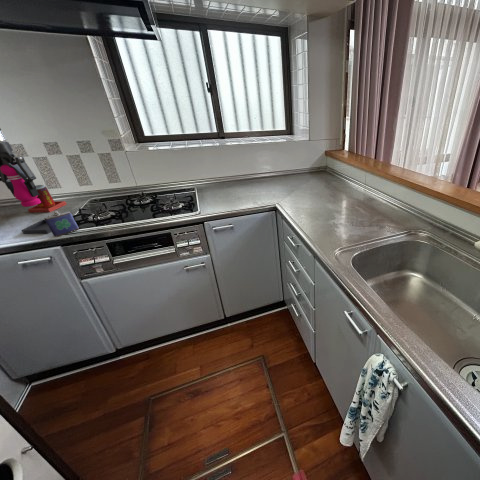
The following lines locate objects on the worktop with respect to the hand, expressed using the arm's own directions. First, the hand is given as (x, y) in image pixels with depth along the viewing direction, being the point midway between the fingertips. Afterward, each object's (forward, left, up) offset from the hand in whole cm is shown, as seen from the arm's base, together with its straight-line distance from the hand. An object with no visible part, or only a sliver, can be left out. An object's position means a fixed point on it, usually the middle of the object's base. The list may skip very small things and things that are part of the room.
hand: (26, 195), depth 119 cm
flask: (+14, -5, -17) cm, 22 cm away
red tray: (-20, +25, -16) cm, 36 cm away
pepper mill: (0, 0, -4) cm, 4 cm away
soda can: (-20, +25, -16) cm, 36 cm away
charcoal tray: (0, 0, -16) cm, 16 cm away
